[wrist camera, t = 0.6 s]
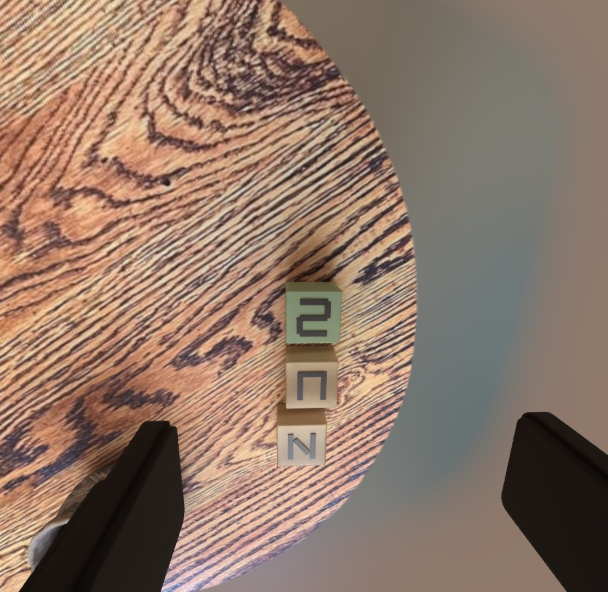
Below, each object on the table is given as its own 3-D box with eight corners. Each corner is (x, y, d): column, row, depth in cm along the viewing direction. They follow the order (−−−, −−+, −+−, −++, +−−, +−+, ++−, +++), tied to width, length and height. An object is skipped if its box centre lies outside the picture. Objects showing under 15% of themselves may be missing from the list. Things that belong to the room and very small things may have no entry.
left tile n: (277, 403, 28) (276, 426, 25) (322, 402, 28) (327, 425, 25) (277, 441, 29) (277, 468, 26) (321, 440, 29) (325, 466, 26)
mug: (196, 448, 29) (152, 570, 19) (187, 551, 32) (145, 701, 22) (84, 438, 28) (-24, 562, 18) (86, 546, 31) (-4, 700, 21)
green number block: (285, 281, 25) (285, 291, 22) (335, 281, 25) (342, 291, 22) (285, 328, 26) (285, 344, 23) (333, 328, 26) (340, 343, 23)
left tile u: (285, 345, 26) (285, 363, 23) (332, 345, 27) (339, 362, 24) (285, 388, 27) (285, 409, 24) (331, 387, 28) (336, 408, 25)
